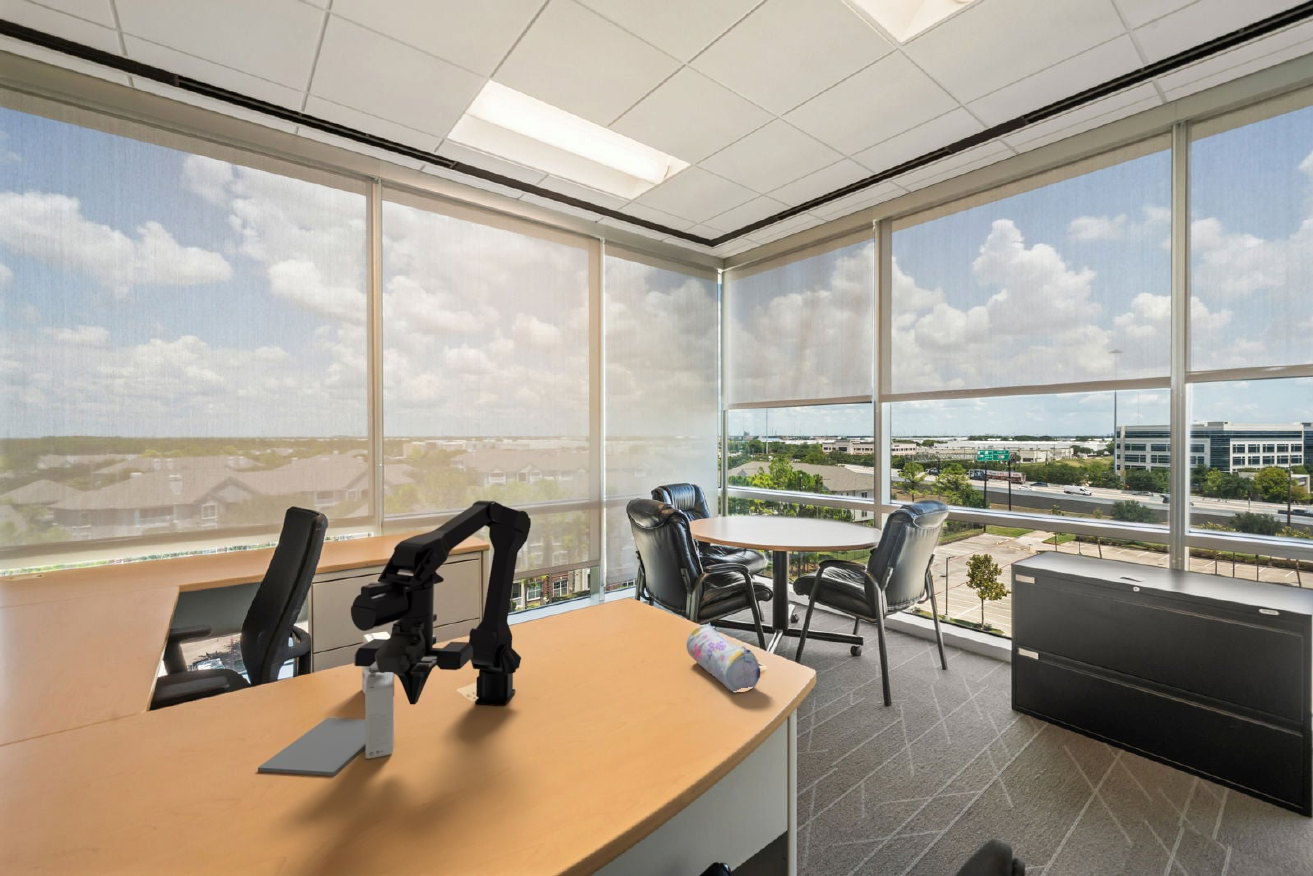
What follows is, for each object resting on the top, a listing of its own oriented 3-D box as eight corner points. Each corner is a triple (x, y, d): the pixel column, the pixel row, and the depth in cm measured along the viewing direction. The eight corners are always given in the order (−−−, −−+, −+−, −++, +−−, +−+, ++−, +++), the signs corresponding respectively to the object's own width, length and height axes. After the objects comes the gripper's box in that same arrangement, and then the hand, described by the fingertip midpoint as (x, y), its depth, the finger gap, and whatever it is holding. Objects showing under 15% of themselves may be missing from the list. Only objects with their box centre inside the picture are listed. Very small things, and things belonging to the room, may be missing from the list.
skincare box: (393, 754, 90) (395, 687, 89) (363, 761, 88) (364, 692, 87) (394, 732, 95) (395, 668, 94) (365, 738, 93) (367, 673, 92)
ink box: (395, 697, 111) (396, 640, 111) (369, 704, 108) (370, 646, 108) (385, 683, 117) (387, 629, 118) (360, 689, 114) (362, 634, 115)
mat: (392, 724, 100) (392, 721, 100) (334, 776, 84) (334, 772, 84) (327, 720, 101) (327, 717, 101) (257, 771, 85) (257, 767, 85)
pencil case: (763, 692, 115) (763, 648, 115) (729, 699, 111) (729, 654, 111) (714, 657, 134) (714, 620, 134) (683, 663, 130) (684, 624, 130)
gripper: (333, 626, 84) (330, 725, 84) (445, 630, 83) (443, 730, 83) (375, 606, 95) (373, 693, 95) (474, 609, 94) (473, 697, 94)
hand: (413, 703), depth 91 cm, fingers closed
